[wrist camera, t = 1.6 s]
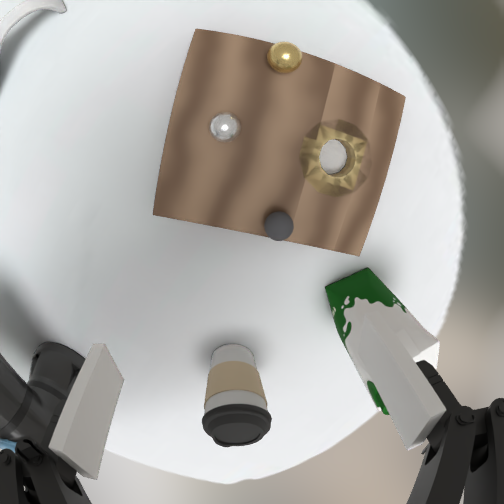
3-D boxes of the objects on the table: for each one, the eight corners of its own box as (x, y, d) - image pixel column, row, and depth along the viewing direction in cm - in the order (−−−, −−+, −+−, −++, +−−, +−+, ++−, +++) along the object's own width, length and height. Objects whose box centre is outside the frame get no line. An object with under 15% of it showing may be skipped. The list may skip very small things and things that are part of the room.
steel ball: (206, 139, 28) (204, 139, 25) (213, 110, 27) (212, 107, 24) (236, 145, 28) (237, 145, 25) (243, 116, 27) (245, 114, 24)
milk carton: (317, 284, 39) (376, 392, 21) (372, 259, 38) (457, 346, 20) (331, 327, 42) (380, 429, 24) (380, 303, 42) (447, 391, 23)
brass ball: (261, 71, 25) (265, 63, 22) (269, 43, 24) (274, 33, 21) (293, 80, 26) (302, 73, 23) (300, 52, 25) (309, 43, 21)
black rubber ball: (259, 231, 32) (263, 241, 30) (266, 205, 31) (270, 212, 28) (285, 237, 33) (291, 247, 30) (293, 211, 32) (300, 219, 29)
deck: (157, 209, 33) (152, 214, 30) (197, 35, 25) (195, 28, 23) (351, 249, 37) (359, 256, 35) (395, 98, 29) (405, 96, 27)
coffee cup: (233, 329, 41) (238, 411, 27) (272, 358, 44) (288, 434, 30) (193, 359, 42) (186, 437, 29) (232, 384, 46) (237, 457, 32)
